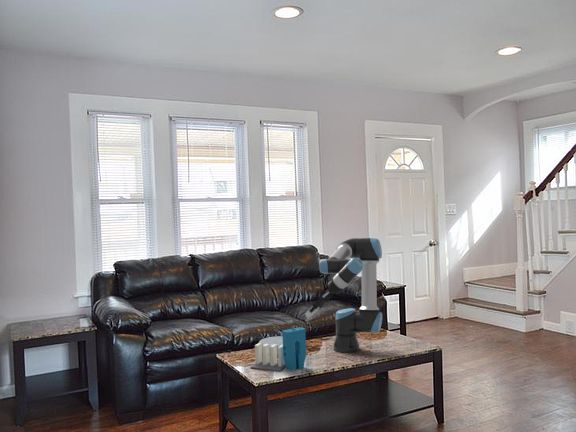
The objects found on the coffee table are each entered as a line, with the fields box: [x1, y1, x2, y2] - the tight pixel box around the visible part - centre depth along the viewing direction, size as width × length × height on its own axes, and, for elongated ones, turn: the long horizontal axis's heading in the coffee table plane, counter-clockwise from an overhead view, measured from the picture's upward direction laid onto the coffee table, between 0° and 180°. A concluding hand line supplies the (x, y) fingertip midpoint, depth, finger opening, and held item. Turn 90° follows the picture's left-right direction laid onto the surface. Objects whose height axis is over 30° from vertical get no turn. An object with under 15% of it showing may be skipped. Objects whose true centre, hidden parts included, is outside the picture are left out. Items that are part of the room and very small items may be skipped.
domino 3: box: [270, 344, 278, 366], centre depth 271 cm, size 2×5×10 cm, turn 156°
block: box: [281, 327, 307, 372], centre depth 267 cm, size 12×5×20 cm, turn 124°
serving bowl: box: [258, 335, 283, 355], centre depth 297 cm, size 21×21×7 cm
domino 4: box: [277, 345, 285, 367], centre depth 270 cm, size 2×5×10 cm, turn 156°
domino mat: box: [249, 358, 286, 372], centre depth 272 cm, size 17×16×1 cm
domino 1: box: [254, 342, 263, 364], centre depth 275 cm, size 2×5×10 cm, turn 157°
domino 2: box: [262, 344, 270, 365], centre depth 273 cm, size 2×5×10 cm, turn 156°
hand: (308, 315), depth 263 cm, fingers open, 3 cm apart
